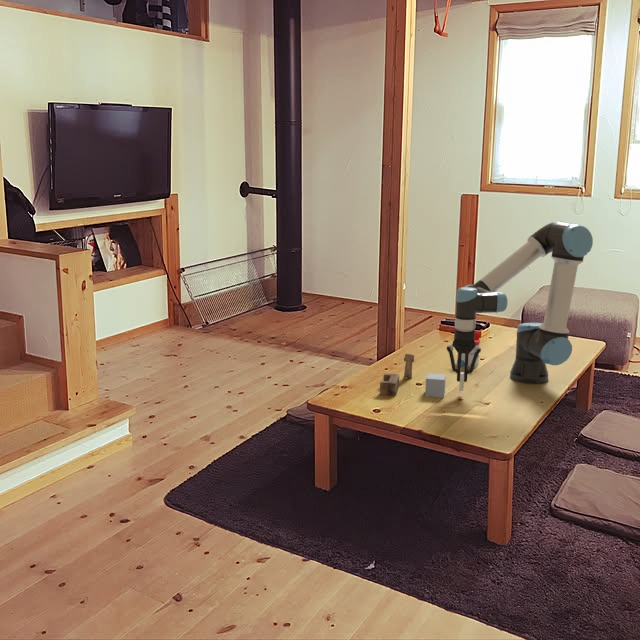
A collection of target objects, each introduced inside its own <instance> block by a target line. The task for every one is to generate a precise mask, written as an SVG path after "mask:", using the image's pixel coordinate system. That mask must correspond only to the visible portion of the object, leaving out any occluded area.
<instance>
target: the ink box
mask: <svg viewBox="0 0 640 640" xmlns="http://www.w3.org/2000/svg"><path fill="white" fill-rule="evenodd" d="M480 334H481V333H480V332H476V331H475V340H474V341H475V344H476V346H477V347H480V343H481V340H480ZM474 353H475V352H474V349H473V350H472V351H471V352H470V353H469V356H468V368H470V366H471V363H472V359H473V356H474ZM479 357H480V353H479V354H478V356H477V359H476V362H475V365H474V368H477V367H478V366H479V360H480V358H479ZM456 358H457V359H456V366H458V353H457V357H456ZM461 367H465V354H464V353H463V354H462V357H461Z"/></svg>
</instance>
